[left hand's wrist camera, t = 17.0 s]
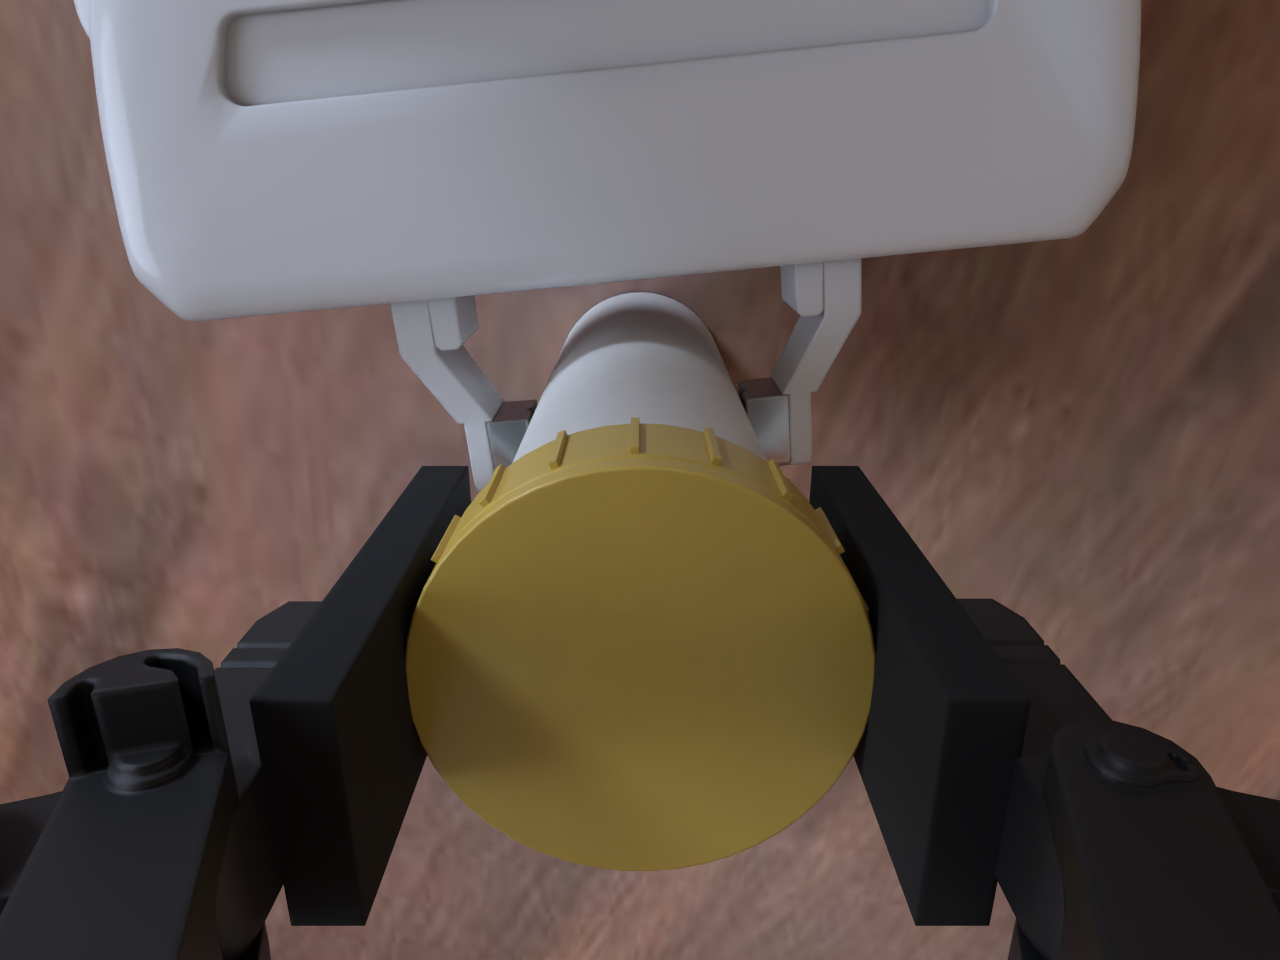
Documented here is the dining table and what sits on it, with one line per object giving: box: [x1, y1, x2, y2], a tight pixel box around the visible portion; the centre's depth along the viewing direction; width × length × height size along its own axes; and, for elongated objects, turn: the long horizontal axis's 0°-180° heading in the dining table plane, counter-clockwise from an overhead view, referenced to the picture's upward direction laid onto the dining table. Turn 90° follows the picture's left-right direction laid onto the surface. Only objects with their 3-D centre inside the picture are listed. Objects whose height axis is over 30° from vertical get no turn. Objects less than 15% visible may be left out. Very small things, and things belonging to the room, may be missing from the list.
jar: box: [513, 292, 767, 463], centre depth 18 cm, size 5×5×16 cm
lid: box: [405, 417, 876, 871], centre depth 11 cm, size 6×6×2 cm
